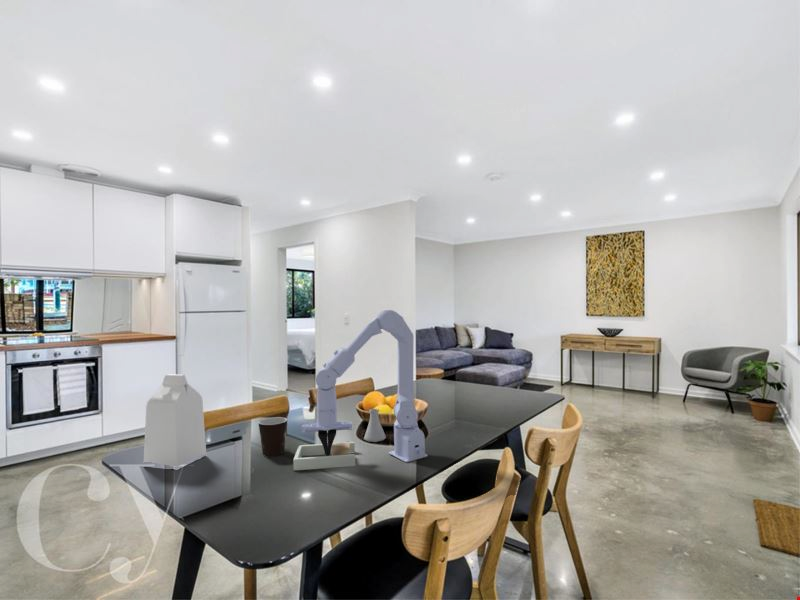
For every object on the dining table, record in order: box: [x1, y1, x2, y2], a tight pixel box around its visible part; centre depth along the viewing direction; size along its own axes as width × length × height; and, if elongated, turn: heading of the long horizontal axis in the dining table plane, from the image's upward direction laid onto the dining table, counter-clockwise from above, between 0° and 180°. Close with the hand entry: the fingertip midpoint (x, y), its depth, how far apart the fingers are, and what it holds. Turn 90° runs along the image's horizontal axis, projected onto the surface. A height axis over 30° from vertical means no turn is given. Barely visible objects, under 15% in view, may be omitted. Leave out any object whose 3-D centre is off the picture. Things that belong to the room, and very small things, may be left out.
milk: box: [143, 373, 207, 466], centre depth 122 cm, size 12×12×26 cm
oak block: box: [331, 442, 351, 456], centre depth 120 cm, size 5×5×4 cm
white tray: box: [292, 441, 356, 471], centre depth 119 cm, size 17×12×3 cm
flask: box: [363, 408, 387, 443], centre depth 138 cm, size 7×7×10 cm
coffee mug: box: [258, 416, 288, 457], centre depth 128 cm, size 12×9×10 cm
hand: (327, 455), depth 119 cm, fingers closed
